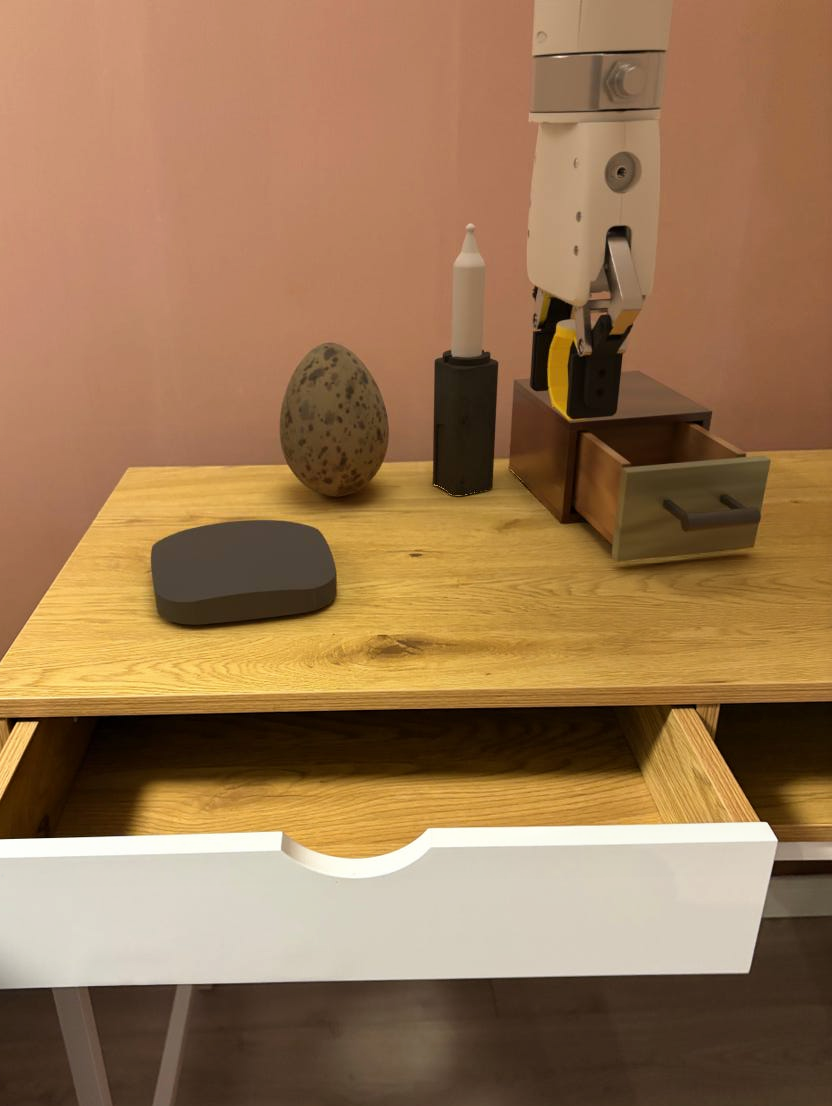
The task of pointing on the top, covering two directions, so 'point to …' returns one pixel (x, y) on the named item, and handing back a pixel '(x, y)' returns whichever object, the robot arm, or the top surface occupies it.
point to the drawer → (667, 490)
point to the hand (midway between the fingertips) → (571, 399)
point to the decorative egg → (333, 422)
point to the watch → (561, 364)
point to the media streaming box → (242, 572)
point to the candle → (465, 386)
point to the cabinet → (551, 438)
